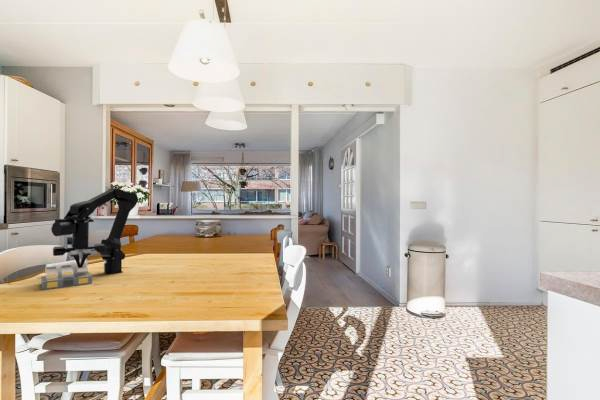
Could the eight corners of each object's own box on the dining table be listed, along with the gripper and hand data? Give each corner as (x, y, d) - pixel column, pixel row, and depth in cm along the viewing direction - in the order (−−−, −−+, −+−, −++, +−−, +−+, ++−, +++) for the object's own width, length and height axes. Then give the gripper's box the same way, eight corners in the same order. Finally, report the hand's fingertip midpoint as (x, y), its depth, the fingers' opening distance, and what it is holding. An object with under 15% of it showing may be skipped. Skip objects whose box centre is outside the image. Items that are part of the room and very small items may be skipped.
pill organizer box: (87, 278, 146) (87, 270, 146) (92, 283, 136) (92, 275, 136) (41, 283, 135) (41, 275, 135) (42, 290, 126) (42, 281, 126)
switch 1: (56, 269, 137) (56, 266, 137) (57, 278, 130) (57, 275, 130) (45, 270, 135) (45, 267, 135) (46, 279, 128) (46, 276, 128)
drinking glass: (45, 279, 145) (86, 274, 151) (44, 263, 145) (85, 259, 151) (48, 277, 151) (87, 272, 157) (48, 261, 151) (87, 257, 157)
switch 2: (70, 267, 140) (71, 264, 140) (73, 276, 134) (73, 273, 133) (60, 268, 138) (60, 265, 138) (62, 277, 131) (62, 274, 131)
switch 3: (85, 270, 144) (85, 267, 144) (88, 270, 137) (88, 267, 137) (75, 271, 141) (74, 268, 141) (77, 272, 134) (77, 268, 134)
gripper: (102, 229, 154) (101, 262, 155) (52, 231, 143) (51, 267, 144) (107, 233, 146) (106, 268, 147) (53, 235, 134) (53, 274, 135)
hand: (79, 269), depth 143 cm, fingers closed, pressing on switch 3
